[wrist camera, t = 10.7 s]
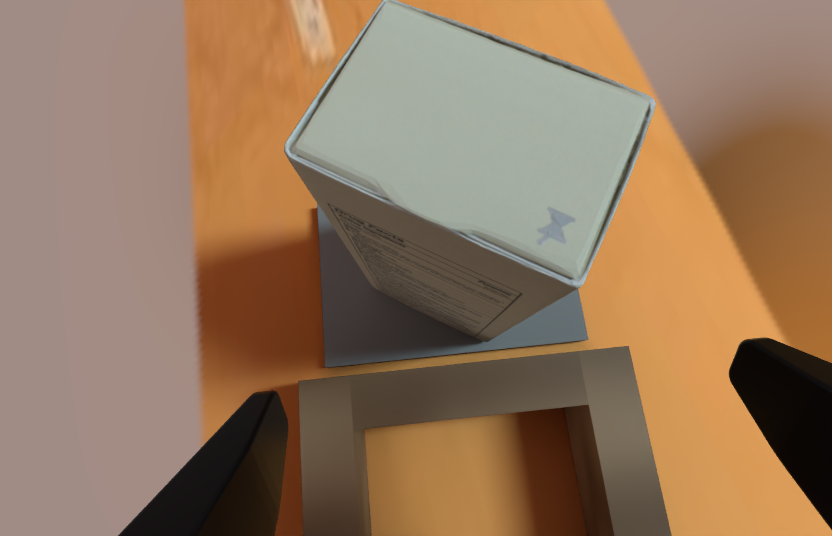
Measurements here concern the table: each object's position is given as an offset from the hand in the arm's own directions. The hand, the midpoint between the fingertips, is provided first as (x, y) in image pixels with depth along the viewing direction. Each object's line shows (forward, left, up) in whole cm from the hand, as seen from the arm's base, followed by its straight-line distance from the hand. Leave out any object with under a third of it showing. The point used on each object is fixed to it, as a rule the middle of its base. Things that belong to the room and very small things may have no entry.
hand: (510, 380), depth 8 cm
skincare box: (+3, +4, -11) cm, 12 cm away
